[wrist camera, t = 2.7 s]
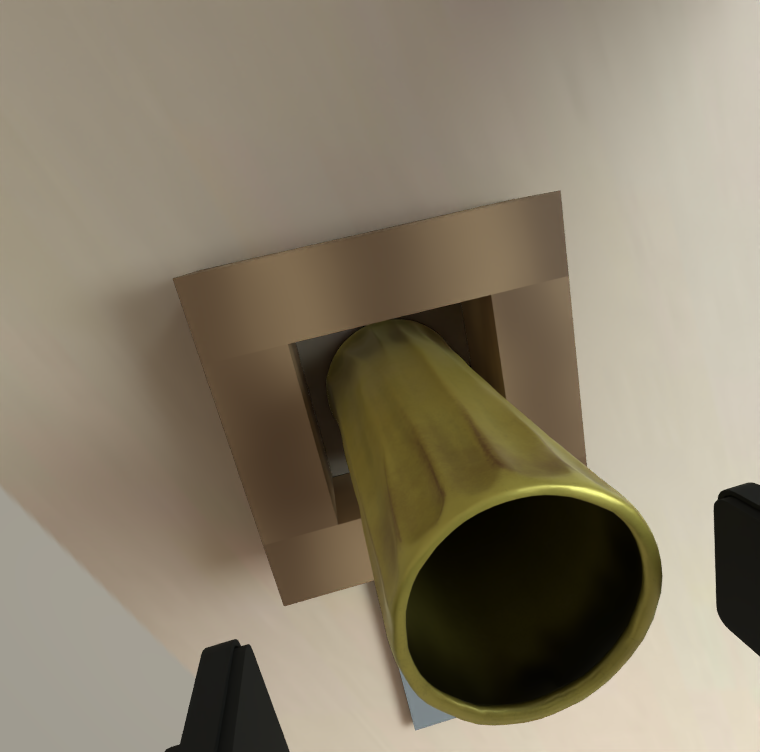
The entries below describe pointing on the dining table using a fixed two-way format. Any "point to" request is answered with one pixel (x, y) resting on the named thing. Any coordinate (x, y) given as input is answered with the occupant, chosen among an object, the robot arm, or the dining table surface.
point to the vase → (485, 535)
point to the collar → (363, 307)
